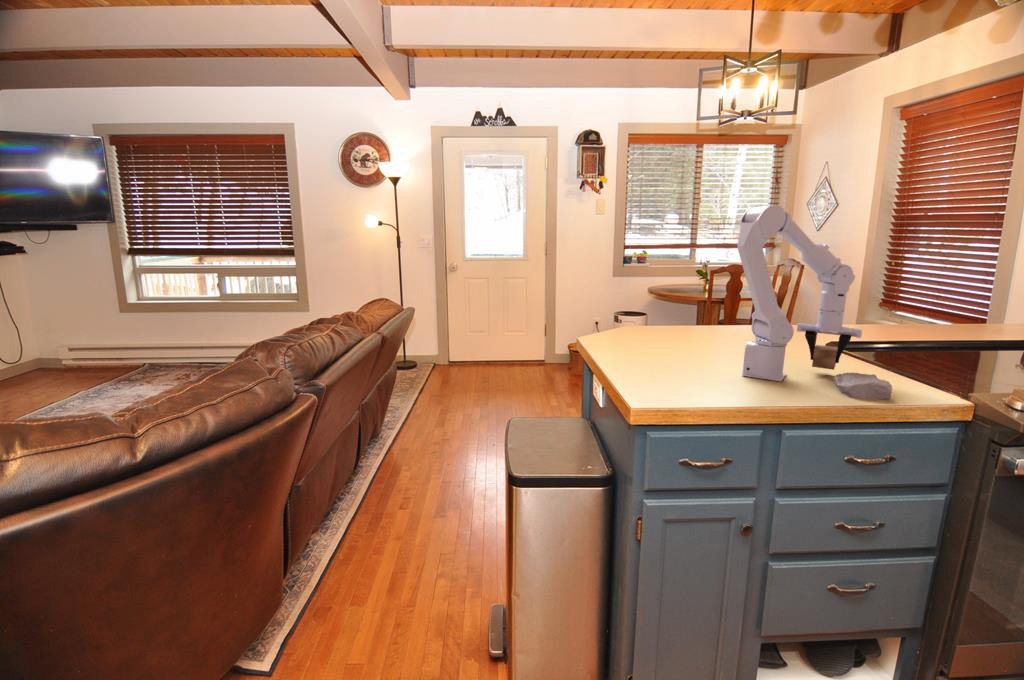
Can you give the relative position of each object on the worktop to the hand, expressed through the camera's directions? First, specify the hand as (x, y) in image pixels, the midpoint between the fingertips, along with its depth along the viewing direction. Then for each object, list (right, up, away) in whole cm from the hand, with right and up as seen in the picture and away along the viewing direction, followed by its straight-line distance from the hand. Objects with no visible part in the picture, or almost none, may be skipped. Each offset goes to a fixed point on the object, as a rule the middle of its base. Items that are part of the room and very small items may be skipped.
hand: (824, 360), depth 139 cm
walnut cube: (0, -1, 0) cm, 2 cm away
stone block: (0, -7, -13) cm, 15 cm away
